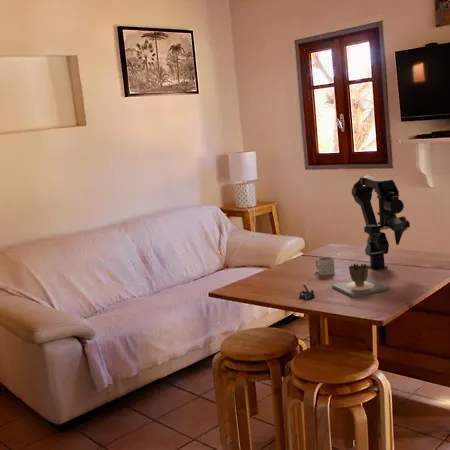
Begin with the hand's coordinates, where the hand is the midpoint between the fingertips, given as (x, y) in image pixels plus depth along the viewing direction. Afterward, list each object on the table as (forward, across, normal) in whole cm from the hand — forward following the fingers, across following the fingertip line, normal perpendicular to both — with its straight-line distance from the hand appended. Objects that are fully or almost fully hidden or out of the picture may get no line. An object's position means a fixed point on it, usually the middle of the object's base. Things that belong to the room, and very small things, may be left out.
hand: (388, 246), depth 244 cm
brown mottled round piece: (+11, -20, -9) cm, 24 cm away
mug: (+12, -20, +20) cm, 31 cm away
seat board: (+12, -20, -9) cm, 25 cm away
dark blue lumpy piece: (+13, -42, -5) cm, 44 cm away
